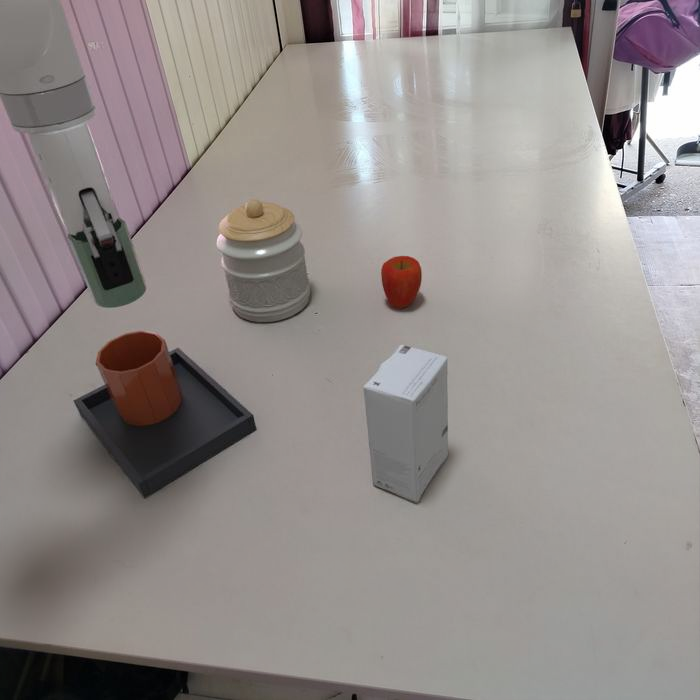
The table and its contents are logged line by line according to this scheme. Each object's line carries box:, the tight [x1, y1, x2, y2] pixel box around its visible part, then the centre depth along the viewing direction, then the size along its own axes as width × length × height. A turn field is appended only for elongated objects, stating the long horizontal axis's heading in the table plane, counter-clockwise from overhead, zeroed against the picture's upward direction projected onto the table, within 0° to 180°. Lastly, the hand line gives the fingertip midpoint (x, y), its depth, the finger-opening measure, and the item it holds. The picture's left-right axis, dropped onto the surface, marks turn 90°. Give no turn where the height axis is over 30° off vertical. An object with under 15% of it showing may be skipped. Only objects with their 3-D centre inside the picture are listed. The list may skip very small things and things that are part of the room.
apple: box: [380, 255, 423, 309], centre depth 97 cm, size 6×6×8 cm
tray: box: [73, 347, 257, 499], centre depth 82 cm, size 16×20×3 cm
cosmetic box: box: [363, 344, 449, 504], centre depth 68 cm, size 8×6×15 cm
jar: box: [216, 198, 311, 323], centre depth 98 cm, size 13×13×18 cm
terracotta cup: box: [95, 330, 182, 426], centre depth 82 cm, size 8×8×9 cm
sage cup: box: [67, 216, 147, 309], centre depth 69 cm, size 6×6×8 cm
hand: (111, 270), depth 69 cm, fingers closed on sage cup, 5 cm apart
